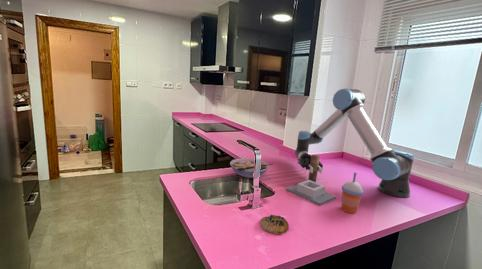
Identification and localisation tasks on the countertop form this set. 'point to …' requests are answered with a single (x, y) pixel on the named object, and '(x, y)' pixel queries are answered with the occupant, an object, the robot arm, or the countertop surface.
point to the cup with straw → (351, 195)
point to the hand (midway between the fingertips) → (316, 170)
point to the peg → (314, 167)
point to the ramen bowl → (247, 167)
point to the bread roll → (274, 224)
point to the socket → (311, 192)
